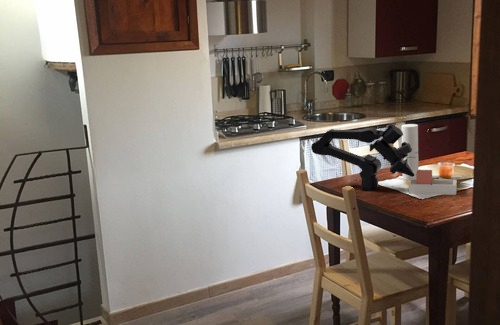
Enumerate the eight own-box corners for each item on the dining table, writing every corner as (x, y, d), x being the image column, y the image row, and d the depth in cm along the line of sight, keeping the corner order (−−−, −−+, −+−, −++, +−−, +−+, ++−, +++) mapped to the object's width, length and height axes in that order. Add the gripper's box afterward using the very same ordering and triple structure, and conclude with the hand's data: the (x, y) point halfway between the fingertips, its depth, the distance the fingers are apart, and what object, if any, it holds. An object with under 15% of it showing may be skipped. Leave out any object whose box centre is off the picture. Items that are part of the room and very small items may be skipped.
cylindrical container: (421, 177, 242) (421, 124, 236) (411, 181, 238) (410, 127, 232) (409, 175, 247) (408, 123, 242) (399, 178, 244) (398, 126, 238)
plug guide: (408, 193, 221) (408, 184, 220) (410, 187, 229) (410, 178, 228) (456, 194, 214) (456, 185, 213) (456, 188, 222) (456, 179, 221)
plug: (416, 191, 221) (416, 173, 219) (417, 187, 226) (417, 169, 225) (431, 192, 219) (431, 173, 217) (432, 187, 224) (432, 169, 222)
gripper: (397, 142, 213) (426, 168, 211) (402, 133, 229) (429, 157, 228) (378, 161, 218) (406, 186, 216) (384, 150, 234) (410, 174, 233)
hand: (413, 175), depth 223 cm, fingers closed
